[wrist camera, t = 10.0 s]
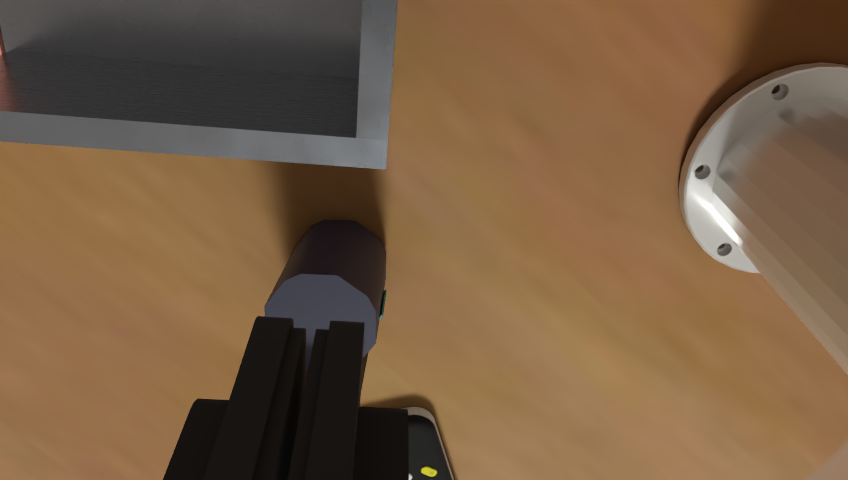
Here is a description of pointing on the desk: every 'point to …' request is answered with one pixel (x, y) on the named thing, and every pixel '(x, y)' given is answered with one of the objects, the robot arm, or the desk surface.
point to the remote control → (426, 447)
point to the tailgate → (1, 43)
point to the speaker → (333, 282)
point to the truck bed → (202, 77)
